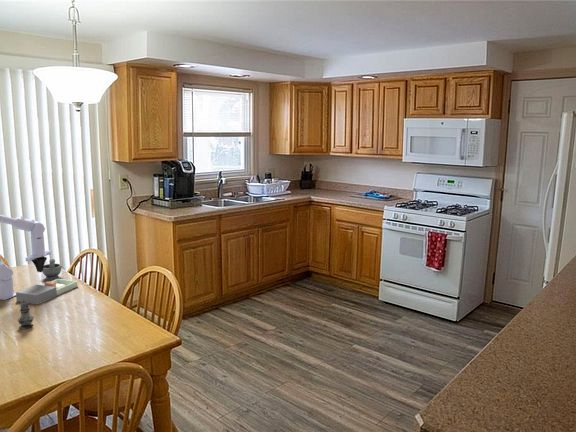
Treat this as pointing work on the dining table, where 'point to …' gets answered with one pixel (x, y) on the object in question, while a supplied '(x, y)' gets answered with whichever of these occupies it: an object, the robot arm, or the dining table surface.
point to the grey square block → (36, 294)
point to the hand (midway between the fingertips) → (40, 271)
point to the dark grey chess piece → (25, 316)
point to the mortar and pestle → (52, 270)
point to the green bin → (67, 287)
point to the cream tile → (59, 286)
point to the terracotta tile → (50, 284)
